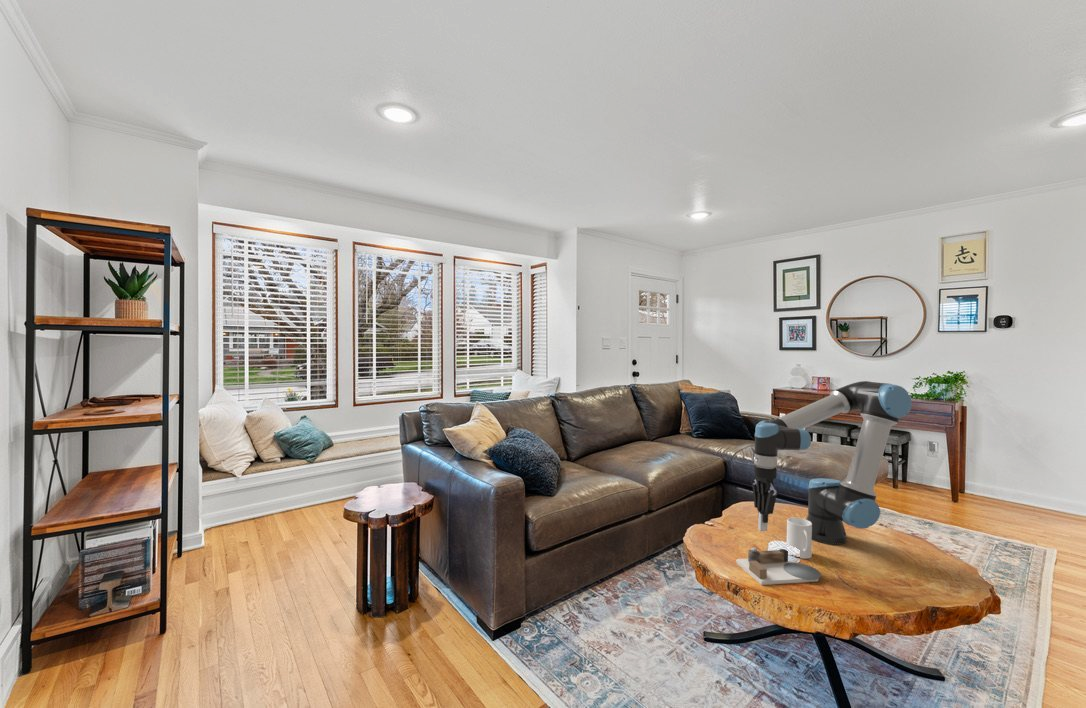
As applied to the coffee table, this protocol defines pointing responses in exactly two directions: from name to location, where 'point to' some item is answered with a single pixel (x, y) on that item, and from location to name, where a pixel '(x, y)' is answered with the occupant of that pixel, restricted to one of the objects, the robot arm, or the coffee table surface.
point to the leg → (768, 556)
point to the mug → (800, 535)
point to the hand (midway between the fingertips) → (762, 530)
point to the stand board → (779, 571)
